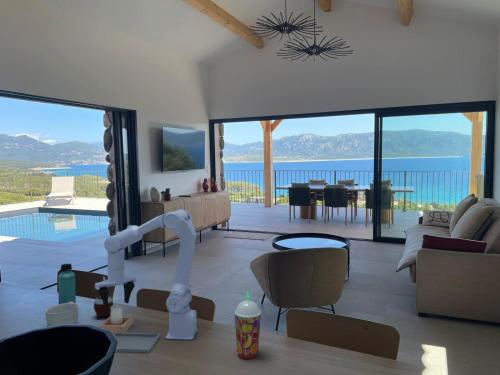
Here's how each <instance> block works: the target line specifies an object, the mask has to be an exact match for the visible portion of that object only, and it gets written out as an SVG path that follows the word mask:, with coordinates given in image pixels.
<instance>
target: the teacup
mask: <svg viewBox="0 0 500 375" xmlns="http://www.w3.org/2000/svg"><path fill="white" fill-rule="evenodd" d="M78 307H79V304H77V302H76V303H74V302H69V303H64V304H59V303H58V304H54V305H52V306H50V307H48V308H47V309H45V312H44V313H45V320H46V325H47V328H48V327H49V326H55V325H61V324H75V325H76V324H77V323H78V321H79V308H78Z"/></svg>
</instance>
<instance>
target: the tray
mask: <svg viewBox="0 0 500 375" xmlns="http://www.w3.org/2000/svg"><path fill="white" fill-rule="evenodd" d="M114 335H115V337H116V338H117V340H118V346H117V350H116V352H115V353H126V354H128V353H129V354H150V353H151V351H152V350H153V349H154V347H155V346H156V345H157V343H158V341H159V340H160V338H161V333H151V332H150V333H149V332H147V333H146V332H145V333H144V332H143V333H141V332H125V333H116V332H115V333H114Z"/></svg>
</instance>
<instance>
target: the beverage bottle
mask: <svg viewBox="0 0 500 375" xmlns="http://www.w3.org/2000/svg"><path fill="white" fill-rule="evenodd" d="M72 269H73V266H72V263H62V264H61V265H60V271H62V272H60V273H59V274H58V275H57V278H58V282H57V283H58V286H57V288H58V296H57V297H58V304H64V303H69V302H74V303H76V304H77V300H76V299H77V297H76V295H77V294H76V277H75V276H76V273H75V272H73V271H71V270H72Z"/></svg>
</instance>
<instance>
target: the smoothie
mask: <svg viewBox="0 0 500 375" xmlns="http://www.w3.org/2000/svg"><path fill="white" fill-rule="evenodd" d="M249 296H250V292H249V291H246V300H242V301H241V302H239V303H238V305H237V306H236V309H235V310H234V312H233V313H234V322H235V323H234V326H235V341H236V344H235V346H236V353H237V354H238V356H239V357H240V358H242V359H249V360H250V359H254V358H256V357H257V355H258V353H259V344H260V343H259V342H260V328H261V314H262V311H261V309H260V307H259V306H258V304H257V303H256V302H255V301H252V300H250V297H249Z"/></svg>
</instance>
